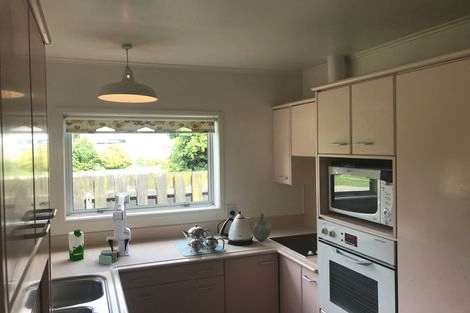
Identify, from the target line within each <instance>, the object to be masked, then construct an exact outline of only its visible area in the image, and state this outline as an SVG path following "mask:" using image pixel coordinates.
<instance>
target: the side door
mask: <svg viewBox="0 0 470 313" xmlns="http://www.w3.org/2000/svg"><path fill="white" fill-rule="evenodd" d="M98 264H103V265H110V266H111V265H112V264H113V262H112V257H111V256H102V255H100V254H99V255H98Z"/></svg>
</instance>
